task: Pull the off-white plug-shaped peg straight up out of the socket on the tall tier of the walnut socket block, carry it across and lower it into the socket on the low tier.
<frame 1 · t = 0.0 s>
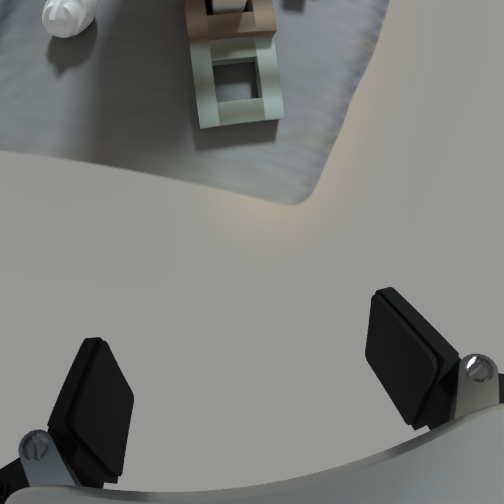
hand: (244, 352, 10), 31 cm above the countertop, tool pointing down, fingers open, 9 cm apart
white round lump: (80, 19, 26), on the countertop
socket block: (230, 45, 31), on the countertop
peg: (225, 10, 29), resting in socket block
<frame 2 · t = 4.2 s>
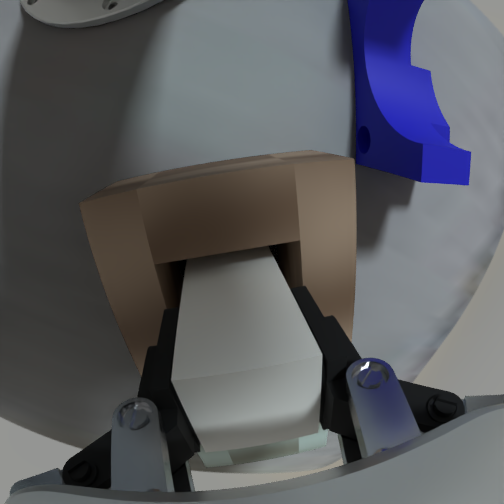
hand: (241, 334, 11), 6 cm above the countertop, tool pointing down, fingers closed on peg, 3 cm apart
socket block: (243, 341, 19), on the countertop
peg: (229, 263, 16), resting in socket block, touching gripper
blue curved block: (384, 66, 14), on the countertop
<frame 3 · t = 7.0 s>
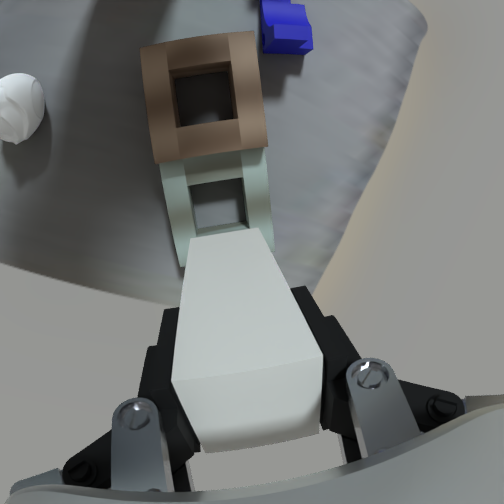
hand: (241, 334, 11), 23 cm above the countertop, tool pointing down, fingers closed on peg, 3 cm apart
white round lump: (31, 108, 24), on the countertop
socket block: (210, 150, 29), on the countertop
peg: (229, 264, 16), point 17 cm above the countertop, touching gripper
blue curved block: (279, 8, 24), on the countertop
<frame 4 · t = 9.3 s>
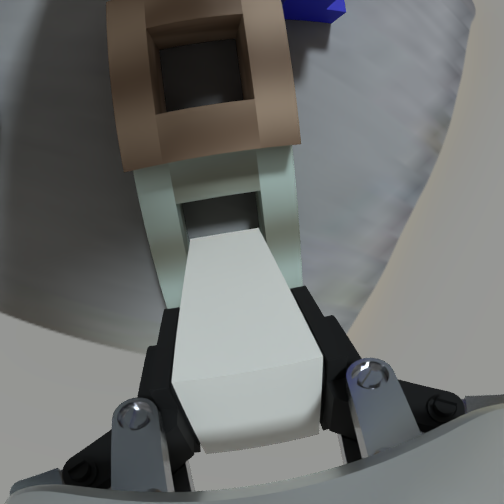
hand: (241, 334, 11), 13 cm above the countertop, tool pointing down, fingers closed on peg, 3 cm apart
socket block: (211, 150, 20), on the countertop
peg: (229, 264, 16), point 7 cm above the countertop, touching gripper
when the fingers open (8 cm above the countertop, at t = 11.3 s): peg drops 1 cm, resting in socket block.
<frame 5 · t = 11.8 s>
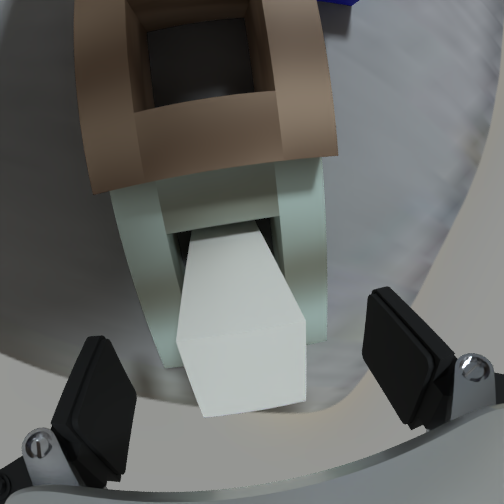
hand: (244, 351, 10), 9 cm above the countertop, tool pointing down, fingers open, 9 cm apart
socket block: (213, 160, 16), on the countertop
peg: (227, 253, 18), resting in socket block
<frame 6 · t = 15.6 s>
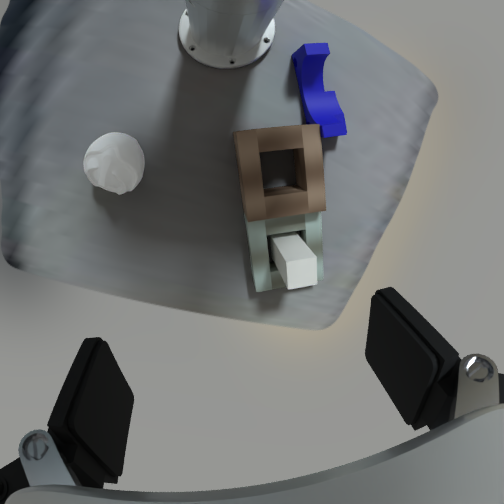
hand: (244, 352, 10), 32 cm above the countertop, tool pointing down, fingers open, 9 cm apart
white round lump: (123, 160, 36), on the countertop
socket block: (279, 206, 42), on the countertop
peg: (282, 243, 44), resting in socket block
blue curved block: (315, 93, 37), on the countertop
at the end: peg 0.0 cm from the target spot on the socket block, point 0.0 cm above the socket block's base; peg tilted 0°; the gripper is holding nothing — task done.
